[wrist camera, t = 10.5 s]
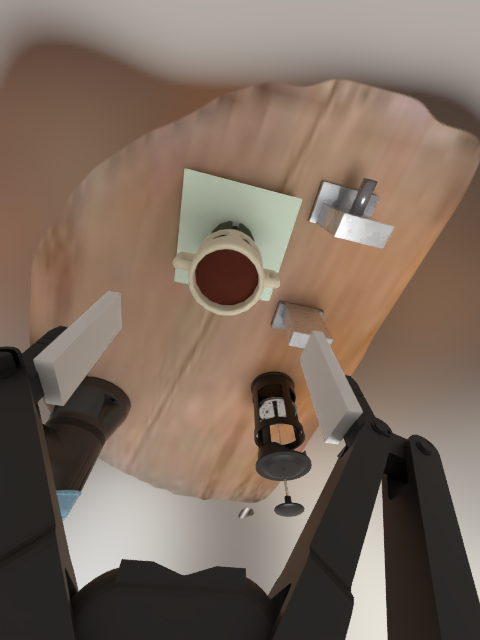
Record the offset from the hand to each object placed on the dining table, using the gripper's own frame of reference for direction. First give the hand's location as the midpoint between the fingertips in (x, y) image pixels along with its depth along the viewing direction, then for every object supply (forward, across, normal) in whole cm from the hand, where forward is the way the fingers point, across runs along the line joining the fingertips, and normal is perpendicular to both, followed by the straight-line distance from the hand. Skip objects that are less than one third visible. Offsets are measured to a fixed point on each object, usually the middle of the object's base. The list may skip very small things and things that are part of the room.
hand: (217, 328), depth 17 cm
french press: (+24, +15, -29) cm, 41 cm away
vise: (+24, +14, -1) cm, 28 cm away
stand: (+24, 0, +1) cm, 24 cm away
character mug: (+20, 0, +1) cm, 20 cm away
